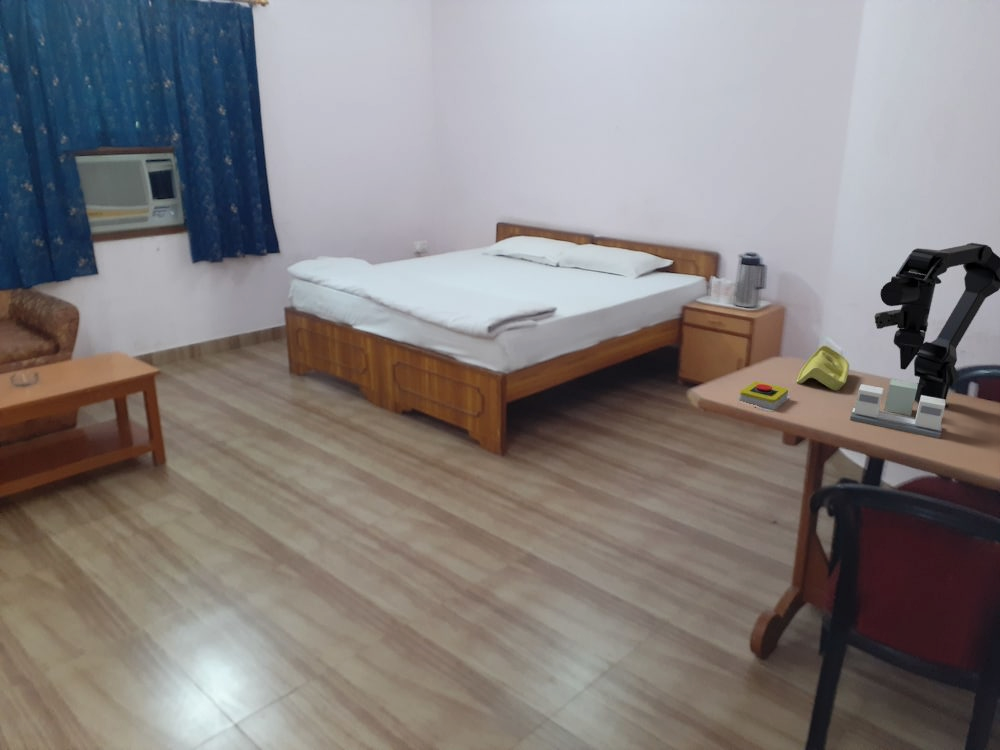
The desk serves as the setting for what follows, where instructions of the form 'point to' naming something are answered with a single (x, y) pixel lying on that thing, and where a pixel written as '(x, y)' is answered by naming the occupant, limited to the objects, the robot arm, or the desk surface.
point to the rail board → (922, 424)
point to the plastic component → (826, 368)
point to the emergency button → (764, 395)
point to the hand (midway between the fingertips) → (904, 364)
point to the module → (900, 397)
